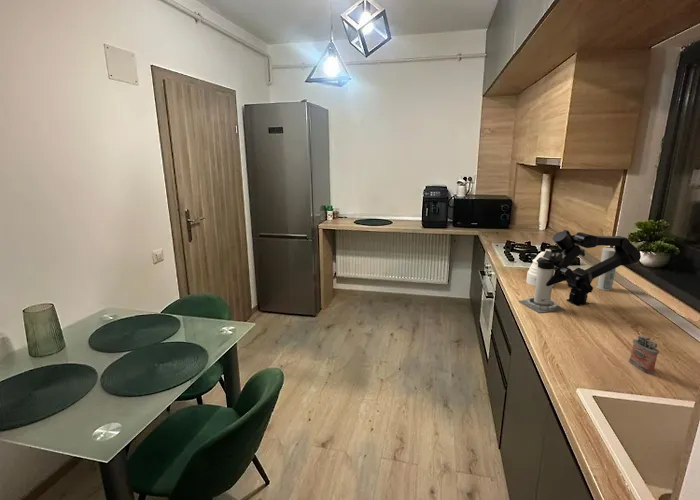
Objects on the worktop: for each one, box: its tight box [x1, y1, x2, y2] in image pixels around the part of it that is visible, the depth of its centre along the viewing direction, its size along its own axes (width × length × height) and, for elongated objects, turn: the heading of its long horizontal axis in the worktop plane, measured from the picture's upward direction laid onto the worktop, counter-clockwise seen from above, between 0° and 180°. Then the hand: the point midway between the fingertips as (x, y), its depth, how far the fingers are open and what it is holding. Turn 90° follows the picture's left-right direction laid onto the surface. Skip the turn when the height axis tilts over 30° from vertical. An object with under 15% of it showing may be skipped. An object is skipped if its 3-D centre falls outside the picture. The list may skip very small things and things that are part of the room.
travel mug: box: [533, 260, 555, 306], centre depth 163 cm, size 6×7×20 cm
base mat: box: [518, 299, 566, 314], centre depth 166 cm, size 13×13×1 cm
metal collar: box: [525, 296, 559, 311], centre depth 165 cm, size 12×12×1 cm
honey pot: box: [526, 248, 555, 288], centre depth 191 cm, size 13×13×18 cm
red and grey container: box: [628, 334, 660, 375], centre depth 117 cm, size 8×3×10 cm, turn 5°
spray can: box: [596, 247, 617, 291], centre depth 182 cm, size 6×6×20 cm
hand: (541, 283), depth 163 cm, fingers closed on travel mug, 6 cm apart
